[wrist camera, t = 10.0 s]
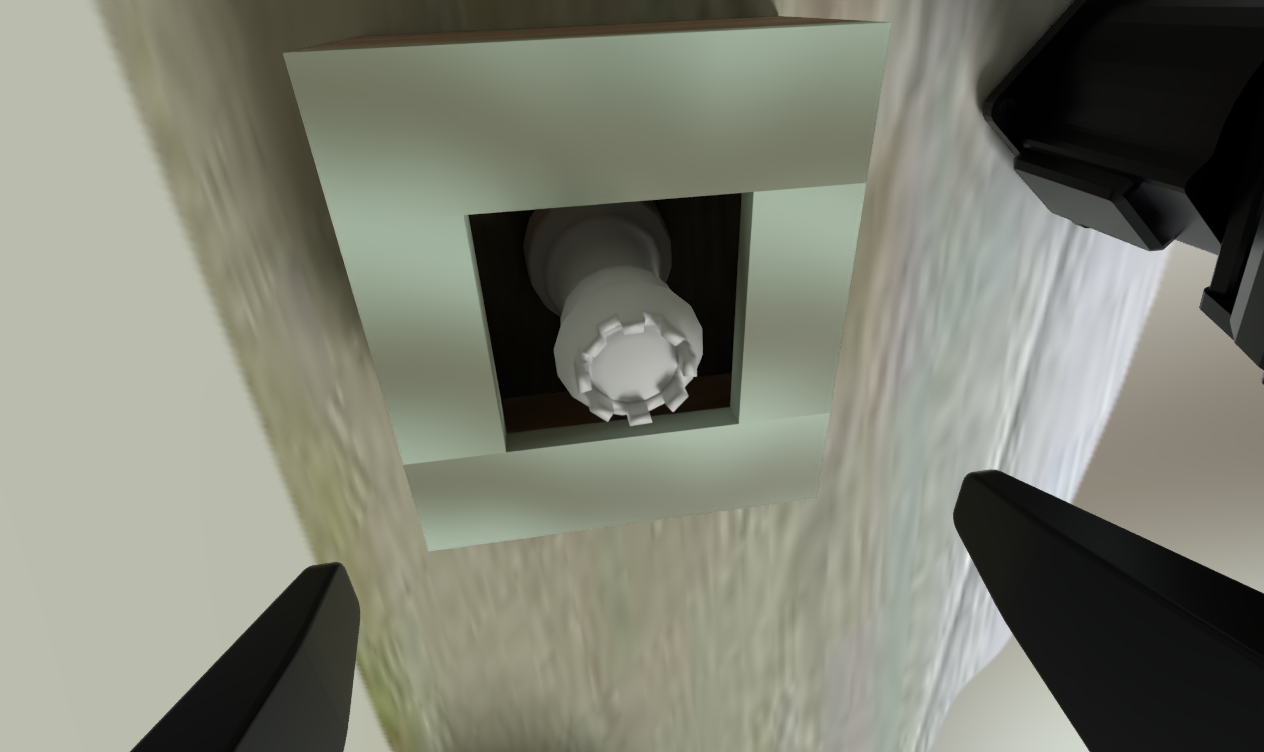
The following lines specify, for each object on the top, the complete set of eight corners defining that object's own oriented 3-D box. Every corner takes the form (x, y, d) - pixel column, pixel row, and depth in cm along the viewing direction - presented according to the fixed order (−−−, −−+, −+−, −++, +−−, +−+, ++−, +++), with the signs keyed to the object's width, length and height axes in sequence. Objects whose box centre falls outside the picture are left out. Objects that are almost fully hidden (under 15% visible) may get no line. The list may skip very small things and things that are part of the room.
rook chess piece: (491, 237, 19) (477, 371, 12) (605, 138, 18) (659, 222, 11) (586, 335, 21) (619, 494, 14) (692, 251, 20) (782, 379, 13)
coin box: (360, 36, 16) (282, 53, 11) (780, 16, 17) (891, 22, 12) (449, 423, 22) (428, 551, 17) (751, 388, 23) (816, 498, 18)
